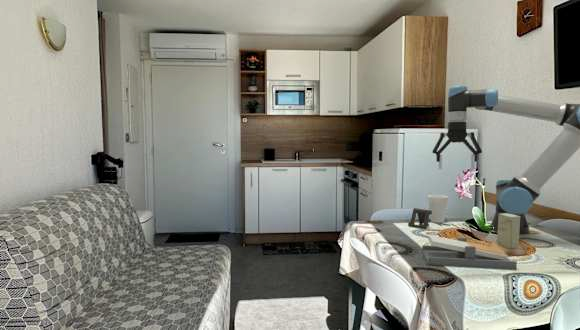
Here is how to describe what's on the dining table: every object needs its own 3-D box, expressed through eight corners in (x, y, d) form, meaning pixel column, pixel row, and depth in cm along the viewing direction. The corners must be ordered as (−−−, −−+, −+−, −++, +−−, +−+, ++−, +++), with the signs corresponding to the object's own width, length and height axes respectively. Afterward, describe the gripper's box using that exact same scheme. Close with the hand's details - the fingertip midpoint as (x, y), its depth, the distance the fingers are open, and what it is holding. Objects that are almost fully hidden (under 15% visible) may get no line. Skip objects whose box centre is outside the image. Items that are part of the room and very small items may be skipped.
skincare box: (496, 244, 142) (497, 213, 141) (505, 243, 143) (506, 212, 142) (510, 249, 136) (511, 216, 135) (519, 248, 137) (520, 215, 136)
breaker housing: (500, 255, 134) (500, 238, 134) (516, 269, 120) (516, 250, 119) (422, 251, 140) (422, 235, 139) (428, 264, 125) (428, 246, 125)
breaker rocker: (497, 252, 132) (499, 247, 131) (507, 261, 123) (508, 255, 123) (427, 238, 136) (428, 233, 136) (431, 245, 127) (432, 240, 127)
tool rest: (519, 246, 144) (519, 242, 144) (532, 256, 132) (532, 252, 132) (485, 245, 147) (485, 241, 147) (495, 254, 135) (495, 250, 135)
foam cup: (448, 220, 191) (449, 195, 190) (445, 224, 184) (446, 198, 183) (429, 218, 196) (429, 194, 196) (425, 222, 189) (426, 196, 188)
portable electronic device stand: (407, 226, 180) (407, 209, 179) (416, 223, 185) (416, 207, 185) (424, 229, 174) (424, 212, 173) (432, 226, 179) (433, 209, 178)
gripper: (428, 121, 163) (428, 169, 165) (490, 120, 158) (489, 169, 159) (426, 122, 171) (425, 168, 172) (485, 121, 165) (484, 168, 167)
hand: (456, 169), depth 166 cm, fingers open, 13 cm apart
